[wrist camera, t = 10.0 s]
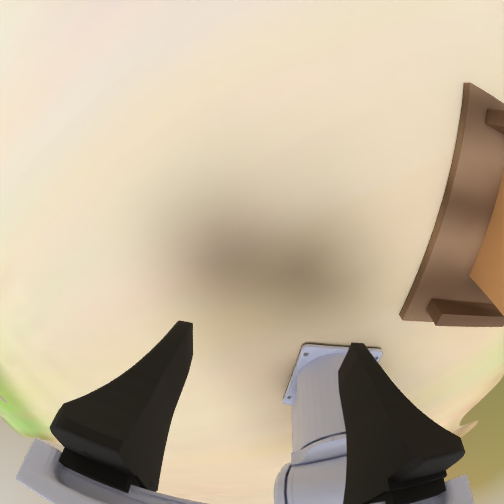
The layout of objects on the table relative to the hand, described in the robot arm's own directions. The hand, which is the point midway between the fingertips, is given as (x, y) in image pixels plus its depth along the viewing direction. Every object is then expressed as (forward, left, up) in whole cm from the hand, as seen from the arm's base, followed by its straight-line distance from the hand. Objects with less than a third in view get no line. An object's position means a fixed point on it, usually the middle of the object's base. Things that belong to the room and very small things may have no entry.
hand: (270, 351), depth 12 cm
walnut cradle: (+6, -19, -9) cm, 22 cm away
